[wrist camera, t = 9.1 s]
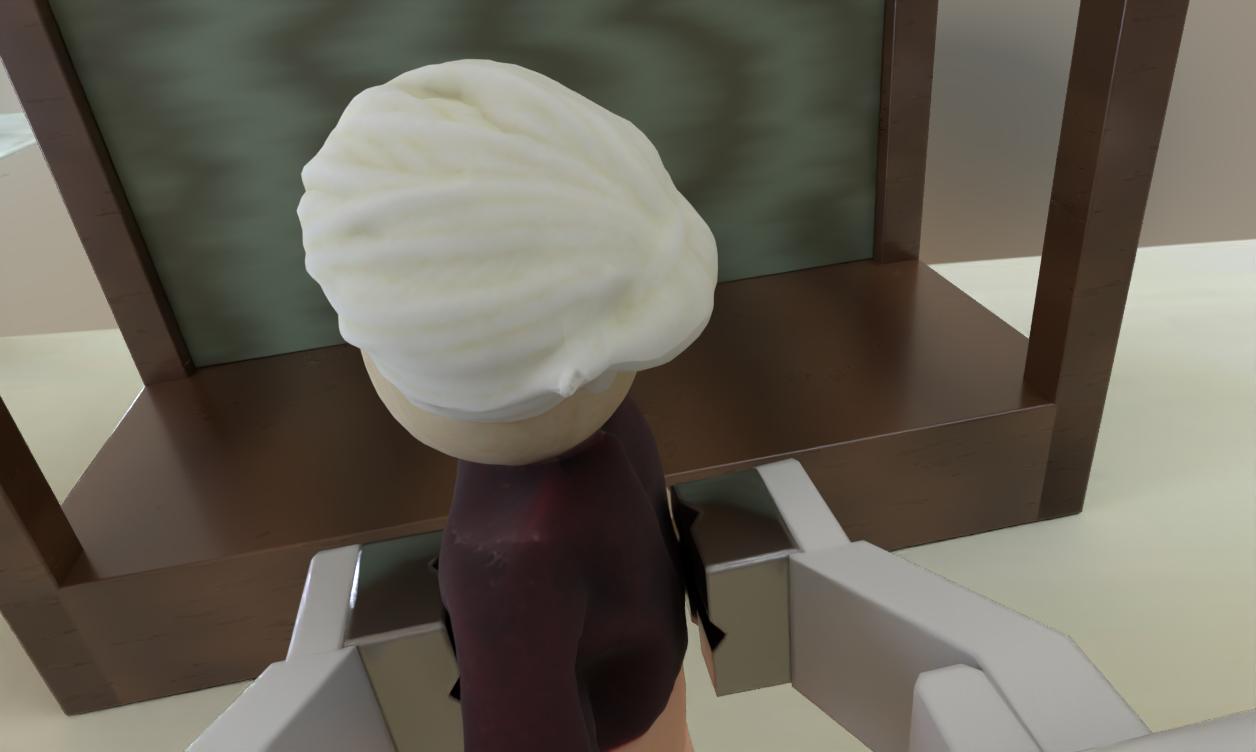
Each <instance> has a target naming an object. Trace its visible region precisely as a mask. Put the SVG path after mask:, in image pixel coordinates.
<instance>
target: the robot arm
mask: <svg viewBox="0 0 1256 752" xmlns="http://www.w3.org/2000/svg"><path fill="white" fill-rule="evenodd" d="M670 501H671V512H672V516H673V519H674V522H675V525H676V528H677V531H678V533H679V538H678V539H677V540H678V544H679V549H680V555H681V561H682V567H683V571H684V581H685V588H686V593H685V601H686V605H687V608H688V611H689V614H690V618H691V621H692V622H693V623H695V624H696V625H698V626H699V633H700V642H701V651H702V654H703V657H704V660H705V663H706V666H707V669H708V672H709V675H710V678H711V680H712V683H713V686H714V689H715V692H716V695H717V697H720V696H725V695H730V694H735V693H740V692H745V691H750V690H756V689H761V688H766V687H771V686H776V685H781V684H787V683H792V687H794V688H795V689H796V690H797V691H799V692H800V693H801V694H802V695H804V696H805V697H806V698H807V699H809V700H810V701H811V702H812V703H814V704H815V705H816V706H817V707H819V708H820V709H821V710H822V711H824V712H825V713H826V714H827V715H829V716H830V717H831V718H832V719H833V720H835V721H836V722H837V723H838V724H840V725H841V726H842V727H843V728H845V729H846V730H847V731H848V732H850V733H851V734H852V735H853V736H855V737H856V738H857V739H858V740H860V741H861V742H862V743H863V744H865V745H866V746H867V747H868V748H870V749H871V750H872V751H873V752H1256V709H1252V710H1248V711H1244V712H1240V713H1235V714H1231V715H1227V716H1223V717H1219V718H1214V719H1210V720H1206V721H1202V722H1198V723H1194V724H1189V725H1185V726H1181V727H1177V728H1173V729H1168V730H1164V731H1160V732H1156V733H1152V732H1151V730H1150V729H1149V728H1148V727H1147V726H1146V725H1145V723H1144V722H1143V721H1142V720H1141V719H1140V718H1139V716H1138V715H1137V714H1136V713H1135V712H1134V711H1133V709H1132V708H1131V707H1130V706H1129V705H1128V704H1127V702H1126V701H1125V700H1124V699H1123V698H1122V697H1121V695H1120V694H1119V693H1118V692H1117V691H1116V690H1115V689H1114V687H1113V686H1112V685H1111V684H1110V683H1109V682H1108V680H1107V679H1106V678H1105V677H1104V676H1103V675H1102V673H1101V672H1100V671H1099V670H1098V669H1097V668H1096V666H1095V665H1094V664H1093V663H1092V662H1091V661H1090V659H1089V658H1088V657H1087V656H1086V655H1085V654H1084V652H1083V651H1082V650H1081V649H1080V648H1079V647H1078V645H1077V644H1076V643H1075V642H1074V641H1073V640H1072V639H1071V637H1070V636H1068V635H1065V634H1063V633H1061V632H1059V631H1057V630H1055V629H1053V628H1050V627H1048V626H1046V625H1044V624H1042V623H1040V622H1038V621H1035V620H1033V619H1031V618H1029V617H1027V616H1025V615H1023V614H1020V613H1018V612H1016V611H1014V610H1012V609H1010V608H1008V607H1005V606H1003V605H1001V604H999V603H997V602H995V601H993V600H991V599H988V598H986V597H984V596H982V595H980V594H978V593H976V592H973V591H971V590H969V589H967V588H965V587H963V586H961V585H958V584H956V583H954V582H952V581H950V580H948V579H946V578H943V577H941V576H939V575H937V574H935V573H933V572H931V571H928V570H926V569H924V568H922V567H920V566H918V565H916V564H913V563H911V562H909V561H907V560H905V559H903V558H901V557H898V556H896V555H894V554H892V553H890V552H888V551H886V550H884V549H881V548H879V547H877V546H875V545H873V544H871V543H869V542H866V541H864V540H862V541H857V542H852V543H851V541H850V540H849V538H848V537H847V535H846V534H845V532H844V530H843V529H842V527H841V526H840V524H839V523H838V521H837V520H836V518H835V517H834V515H833V513H832V512H831V510H830V509H829V507H828V506H827V504H826V503H825V501H824V499H823V498H822V496H821V495H820V493H819V492H818V490H817V489H816V487H815V486H814V484H813V482H812V481H811V479H810V478H809V476H808V475H807V473H806V472H805V470H804V469H803V467H802V465H801V464H800V462H799V461H797V460H795V459H793V458H791V459H786V460H782V461H778V462H773V463H769V464H764V465H760V466H756V467H752V469H749V470H744V471H739V472H734V473H729V474H724V475H719V476H714V477H709V478H704V479H699V480H694V481H689V482H684V483H679V484H674V485H670ZM443 533H444V529H440V530H435V531H429V532H423V533H417V534H412V535H406V536H400V537H394V538H389V539H383V540H377V541H372V542H366V543H363V545H362V544H356V545H351V546H345V547H340V548H335V549H330V550H324V551H319V552H318V553H317V554H316V555H315V556H314V557H313V558H312V560H311V562H310V566H309V570H308V574H307V578H306V582H305V586H304V590H303V594H302V598H301V602H300V606H299V610H298V613H297V617H296V621H295V625H294V629H293V633H292V637H291V641H290V645H289V649H288V653H287V657H286V660H284V661H280V662H275V663H272V664H271V665H270V666H269V667H268V668H267V669H266V670H265V671H264V672H263V673H262V674H261V675H260V676H259V677H258V678H257V679H256V680H255V681H254V682H253V683H252V684H251V685H250V686H249V687H248V688H247V689H246V690H245V691H244V692H243V693H242V694H241V695H240V696H239V697H238V698H237V699H236V700H235V701H234V702H233V703H232V704H231V705H230V706H229V707H228V708H227V709H226V710H225V711H224V712H223V713H222V714H221V715H220V716H219V717H218V718H217V719H216V720H215V721H214V722H213V723H212V724H211V725H210V726H209V727H208V728H207V729H206V730H205V731H204V732H203V733H202V734H201V735H200V736H199V737H198V738H197V739H196V740H195V741H194V742H193V743H192V744H191V745H190V746H189V747H188V748H187V749H186V750H185V751H184V752H464V736H463V720H462V713H461V688H460V671H459V668H458V664H457V656H456V644H455V639H454V634H453V629H452V624H451V622H450V619H449V616H448V612H447V610H446V608H445V606H444V604H443V602H442V598H441V592H440V587H439V579H438V569H439V555H440V550H441V545H442V539H443Z"/></svg>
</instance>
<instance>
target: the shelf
mask: <svg viewBox="0 0 1256 752" xmlns="http://www.w3.org/2000/svg"><path fill="white" fill-rule="evenodd" d="M1188 5H1189V0H1081V1H1080V8H1079V16H1078V21H1077V28H1076V35H1075V41H1074V47H1073V55H1072V61H1071V67H1070V74H1069V80H1068V87H1067V94H1066V101H1065V107H1064V113H1063V120H1062V127H1061V134H1060V140H1059V146H1058V153H1057V159H1056V166H1055V173H1054V179H1053V186H1052V192H1051V199H1050V205H1049V212H1048V218H1047V225H1046V232H1045V239H1044V245H1043V251H1042V258H1041V265H1040V271H1039V278H1038V284H1037V291H1036V297H1035V304H1034V311H1033V317H1032V324H1031V330H1030V337H1029V339H1028V338H1027V337H1025V336H1024V335H1023V334H1021V333H1020V332H1018V331H1017V330H1016V329H1014V328H1013V327H1012V326H1010V325H1009V324H1007V323H1006V322H1005V321H1003V320H1002V319H1000V318H999V317H998V316H996V315H995V314H994V313H992V312H991V311H989V310H988V309H987V308H985V307H984V306H982V305H981V304H980V303H978V302H977V301H976V300H974V299H973V298H971V297H970V296H969V295H967V294H966V293H964V292H963V291H962V290H960V289H959V288H958V287H956V286H955V285H953V284H952V283H951V282H949V281H948V280H946V279H945V278H944V277H942V276H941V275H940V274H938V273H937V272H935V271H934V270H933V269H931V268H930V267H928V266H927V265H926V264H924V263H923V262H922V261H920V260H919V250H920V236H921V223H922V209H923V197H924V184H925V171H926V157H927V143H928V131H929V117H930V104H931V90H932V78H933V65H934V52H935V38H936V24H937V11H938V0H0V59H1V61H2V63H3V66H4V68H5V70H6V72H7V74H8V77H9V79H10V81H11V84H12V86H13V88H14V90H15V93H16V95H17V97H18V100H19V102H20V104H21V106H22V109H23V111H24V113H25V116H26V118H27V120H28V122H29V125H30V127H31V129H32V131H33V134H34V136H35V138H36V140H37V143H38V145H39V147H40V150H41V152H42V154H43V156H44V159H45V161H46V163H47V165H48V168H49V170H50V172H51V174H52V176H53V179H54V181H55V183H56V186H57V188H58V190H59V192H60V195H61V197H62V199H63V202H64V204H65V206H66V208H67V211H68V213H69V215H70V217H71V220H72V222H73V224H74V227H75V229H76V231H77V233H78V236H79V238H80V240H81V242H82V245H83V247H84V249H85V251H86V254H87V256H88V258H89V260H90V262H91V265H92V267H93V270H94V271H95V274H96V276H97V279H98V281H99V283H100V285H101V288H102V290H103V292H104V294H105V297H106V299H107V301H108V303H109V306H110V308H111V310H112V313H113V315H114V317H115V319H116V322H117V324H118V326H119V328H120V331H121V333H122V335H123V337H124V340H125V342H126V344H127V347H128V349H129V351H130V353H131V356H132V358H133V360H134V362H135V365H136V367H137V369H138V371H139V374H140V376H141V378H142V381H143V383H144V385H145V387H144V388H143V390H142V391H141V392H140V394H139V395H138V397H137V398H136V400H135V401H134V402H133V404H132V405H131V407H130V408H129V409H128V411H127V412H126V414H125V415H124V417H123V418H122V419H121V421H120V422H119V424H118V425H117V427H116V428H115V429H114V431H113V432H112V434H111V435H110V437H109V438H108V439H107V441H106V442H105V444H104V445H103V447H102V448H101V449H100V451H99V452H98V454H97V455H96V457H95V458H94V459H93V461H92V462H91V464H90V465H89V467H88V468H87V469H86V471H85V472H84V474H83V475H82V477H81V478H80V479H79V481H78V482H77V484H76V485H75V487H74V488H73V489H72V491H71V492H70V494H69V495H68V497H67V498H66V499H65V501H64V502H63V504H62V505H61V506H60V504H59V503H58V501H57V499H56V497H55V495H54V493H53V491H52V490H51V488H50V486H49V484H48V482H47V480H46V479H45V477H44V475H43V473H42V471H41V469H40V468H39V466H38V464H37V462H36V460H35V458H34V456H33V455H32V453H31V451H30V449H29V447H28V445H27V444H26V442H25V440H24V438H23V436H22V434H21V432H20V431H19V429H18V427H17V425H16V423H15V421H14V420H13V418H12V416H11V414H10V412H9V410H8V409H7V407H6V405H5V403H4V401H3V399H2V397H1V396H0V612H1V614H2V615H3V617H4V619H5V620H6V622H7V623H8V625H9V626H10V628H11V630H12V631H13V633H14V634H15V636H16V637H17V639H18V641H19V642H20V644H21V645H22V647H23V648H24V650H25V652H26V653H27V655H28V656H29V658H30V659H31V661H32V663H33V664H34V666H35V667H36V669H37V670H38V672H39V674H40V675H41V677H42V678H43V680H44V681H45V683H46V685H47V686H48V688H49V689H50V691H51V692H52V694H53V696H54V697H55V699H56V700H57V702H58V703H59V705H60V707H61V708H62V710H63V711H64V713H65V714H66V715H73V714H78V713H83V712H88V711H93V710H98V709H103V708H108V707H113V706H118V705H123V704H128V703H133V702H138V701H143V700H148V699H153V698H158V697H163V696H167V695H172V694H177V693H182V692H187V691H192V690H197V689H202V688H207V687H212V686H217V685H222V684H227V683H232V682H237V681H242V680H247V679H252V678H257V677H259V676H260V675H261V674H262V673H263V672H264V671H265V670H266V669H267V668H268V667H269V666H270V665H271V664H272V663H275V662H280V661H284V660H286V657H287V653H288V649H289V645H290V641H291V637H292V633H293V629H294V625H295V621H296V617H297V613H298V610H299V606H300V602H301V598H302V594H303V590H304V586H305V582H306V578H307V574H308V570H309V566H310V562H311V560H312V558H313V557H314V556H315V555H316V554H317V553H318V552H319V551H324V550H330V549H335V548H340V547H345V546H351V545H356V544H362V545H363V543H366V542H372V541H377V540H383V539H389V538H394V537H400V536H406V535H412V534H417V533H423V532H429V531H435V530H440V529H445V527H446V524H447V522H448V519H449V513H450V509H451V506H452V502H453V496H454V489H455V484H456V478H457V467H458V461H459V458H456V457H453V456H450V455H447V454H445V453H443V452H441V451H438V450H436V449H434V448H432V447H430V446H428V445H426V444H424V443H422V442H421V441H419V440H418V439H416V438H415V437H414V436H413V435H412V434H411V433H410V432H409V431H408V430H407V429H405V428H404V427H403V426H402V425H401V424H400V423H399V422H398V421H397V420H396V419H395V418H394V417H393V415H392V414H391V413H390V411H389V410H388V408H387V407H386V405H385V404H384V403H383V401H382V400H381V398H380V397H379V395H378V393H377V391H376V389H375V387H374V385H373V383H372V381H371V379H370V376H369V374H368V371H367V369H366V366H365V363H364V360H363V357H362V353H361V350H360V348H358V347H356V346H354V345H352V344H350V343H348V342H347V341H345V340H344V338H343V337H342V335H341V333H340V329H339V320H338V313H337V312H336V311H335V309H334V308H333V307H332V305H331V303H330V302H329V300H328V299H327V297H326V295H325V294H324V292H323V289H322V287H321V285H320V284H319V283H318V282H317V281H316V280H315V279H313V278H312V277H311V276H310V274H309V273H308V272H307V270H306V266H305V256H306V252H305V249H304V246H303V231H302V227H301V223H300V220H299V217H298V214H297V208H298V206H299V203H300V200H301V198H302V196H303V195H304V194H305V192H306V190H305V187H304V184H303V181H302V176H301V173H302V171H303V168H304V166H305V165H306V164H307V163H308V162H309V161H310V160H312V159H313V158H314V157H315V156H316V155H317V153H318V152H319V151H320V149H321V148H322V147H323V146H324V144H325V141H326V140H327V138H328V136H329V135H330V133H331V132H332V130H333V129H334V128H336V126H337V124H338V122H339V120H340V118H341V116H342V114H343V112H344V111H345V109H346V108H347V106H348V105H349V104H350V102H351V101H352V100H353V98H354V97H356V96H357V95H358V94H360V93H361V92H363V91H364V90H366V89H368V88H371V87H375V86H380V85H384V84H385V83H387V82H389V81H391V80H393V79H394V78H396V77H398V76H400V75H401V74H403V73H405V72H408V71H411V70H415V69H418V68H421V67H424V66H427V65H434V64H442V63H445V62H450V61H457V60H463V59H482V60H492V61H495V62H500V63H508V64H515V65H518V66H521V67H524V68H526V69H529V70H532V71H535V72H537V73H540V74H542V75H544V76H546V77H548V78H550V79H552V80H554V81H556V82H558V83H560V84H562V85H563V86H565V87H567V88H569V89H570V90H572V91H574V92H576V93H578V94H580V95H582V96H584V97H585V98H587V99H589V100H591V101H592V102H594V103H596V104H598V105H599V106H601V107H603V108H605V109H606V110H608V111H610V112H612V113H613V114H615V115H617V116H620V117H622V118H624V119H626V120H628V121H630V122H631V123H632V124H633V125H635V126H636V127H637V128H638V129H639V130H640V131H641V132H643V133H644V134H645V136H646V137H647V138H648V139H649V140H650V142H651V143H652V144H653V145H654V147H655V148H656V150H657V151H658V154H659V156H660V158H661V161H662V163H663V166H664V168H665V169H666V171H667V172H668V173H669V175H670V177H671V180H672V182H673V184H674V185H675V187H676V189H677V190H678V191H679V192H680V193H681V194H682V195H683V196H684V198H685V199H686V200H687V201H688V202H689V203H690V204H691V205H692V207H693V208H694V209H695V210H696V212H697V213H698V214H699V215H700V216H701V218H702V219H703V220H704V221H705V223H706V224H707V225H708V227H709V229H710V230H711V232H712V234H713V236H714V238H715V241H716V247H717V255H718V275H717V284H716V287H715V290H714V307H713V311H712V314H711V317H710V320H709V322H708V324H707V326H706V327H705V328H704V330H703V331H702V333H701V334H700V336H699V337H698V338H697V339H696V340H695V341H694V342H693V343H692V344H691V345H689V346H688V347H687V348H686V349H685V350H684V351H683V352H681V353H680V354H679V355H678V356H676V357H675V358H674V359H672V360H671V361H670V362H667V363H665V364H663V365H660V366H657V367H653V368H649V369H645V370H641V371H637V373H636V375H635V378H634V380H633V382H632V385H631V387H630V389H629V391H628V392H629V393H630V394H631V395H632V397H633V399H634V400H635V402H636V404H637V405H638V407H639V409H640V410H641V412H642V414H643V415H644V417H645V419H646V421H647V422H648V424H649V426H650V428H651V431H652V433H653V435H654V438H655V441H656V444H657V448H658V452H659V456H660V459H661V464H662V469H663V473H664V477H665V482H666V487H667V489H668V490H669V492H670V485H674V484H679V483H684V482H689V481H694V480H699V479H704V478H709V477H714V476H719V475H724V474H729V473H734V472H739V471H744V470H749V469H752V467H756V466H760V465H764V464H769V463H773V462H778V461H782V460H786V459H791V458H793V459H795V460H797V461H799V462H800V464H801V465H802V467H803V469H804V470H805V472H806V473H807V475H808V476H809V478H810V479H811V481H812V482H813V484H814V486H815V487H816V489H817V490H818V492H819V493H820V495H821V496H822V498H823V499H824V501H825V503H826V504H827V506H828V507H829V509H830V510H831V512H832V513H833V515H834V517H835V518H836V520H837V521H838V523H839V524H840V526H841V527H842V529H843V530H844V532H845V534H846V535H847V537H848V538H849V540H850V541H851V543H852V542H857V541H862V540H864V541H866V542H869V543H871V544H873V545H875V546H877V547H879V548H881V549H884V550H886V551H889V550H894V549H899V548H904V547H909V546H913V545H918V544H923V543H928V542H933V541H938V540H943V539H948V538H953V537H958V536H963V535H968V534H973V533H978V532H983V531H988V530H993V529H998V528H1003V527H1008V526H1013V525H1018V524H1023V523H1028V522H1033V521H1040V520H1045V519H1050V518H1055V517H1060V516H1065V515H1070V514H1075V513H1080V512H1082V509H1083V504H1084V499H1085V495H1086V490H1087V485H1088V480H1089V476H1090V471H1091V466H1092V461H1093V457H1094V452H1095V447H1096V442H1097V438H1098V433H1099V428H1100V423H1101V419H1102V414H1103V409H1104V404H1105V400H1106V395H1107V390H1108V385H1109V381H1110V376H1111V371H1112V366H1113V362H1114V357H1115V352H1116V347H1117V343H1118V338H1119V333H1120V328H1121V324H1122V319H1123V314H1124V309H1125V305H1126V300H1127V295H1128V290H1129V286H1130V281H1131V276H1132V271H1133V267H1134V262H1135V257H1136V252H1137V248H1138V243H1139V238H1140V232H1141V229H1142V224H1143V219H1144V214H1145V210H1146V205H1147V200H1148V195H1149V190H1150V186H1151V181H1152V176H1153V172H1154V166H1155V162H1156V157H1157V153H1158V148H1159V142H1160V138H1161V134H1162V129H1163V124H1164V119H1165V114H1166V110H1167V105H1168V100H1169V95H1170V91H1171V86H1172V81H1173V77H1174V72H1175V67H1176V62H1177V58H1178V53H1179V48H1180V43H1181V38H1182V34H1183V29H1184V24H1185V19H1186V15H1187V10H1188ZM672 523H673V527H674V531H675V533H676V536H677V539H678V538H679V533H678V531H677V528H676V525H675V522H674V519H673V517H672Z"/></svg>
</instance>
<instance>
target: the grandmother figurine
mask: <svg viewBox="0 0 1256 752" xmlns="http://www.w3.org/2000/svg"><path fill="white" fill-rule="evenodd" d="M301 176H302V181H303V184H304V187H305V190H306V192H305V194H304V195H303V196H302V198H301V200H300V203H299V206H298V208H297V214H298V217H299V220H300V223H301V227H302V231H303V246H304V249H305V252H306V256H305V266H306V270H307V272H308V273H309V274H310V276H311V277H312V278H313V279H315V280H316V281H317V282H318V283H319V284H320V285H321V287H322V289H323V292H324V294H325V295H326V297H327V299H328V300H329V302H330V303H331V305H332V307H333V308H334V309H335V311H336V312H337V313H338V320H339V329H340V333H341V335H342V337H343V338H344V340H345V341H347V342H348V343H350V344H352V345H354V346H356V347H358V348H360V350H361V353H362V357H363V360H364V363H365V366H366V369H367V371H368V374H369V376H370V379H371V381H372V383H373V385H374V387H375V389H376V391H377V393H378V395H379V397H380V398H381V400H382V401H383V403H384V404H385V405H386V407H387V408H388V410H389V411H390V413H391V414H392V415H393V417H394V418H395V419H396V420H397V421H398V422H399V423H400V424H401V425H402V426H403V427H404V428H405V429H407V430H408V431H409V432H410V433H411V434H412V435H413V436H414V437H415V438H416V439H418V440H419V441H421V442H422V443H424V444H426V445H428V446H430V447H432V448H434V449H436V450H438V451H441V452H443V453H445V454H447V455H450V456H453V457H456V458H459V461H458V467H457V478H456V484H455V489H454V496H453V502H452V506H451V509H450V513H449V519H448V522H447V524H446V527H445V529H444V533H443V539H442V545H441V550H440V555H439V569H438V579H439V587H440V592H441V598H442V602H443V604H444V606H445V608H446V610H447V612H448V616H449V619H450V622H451V624H452V629H453V634H454V639H455V644H456V656H457V664H458V668H459V671H460V688H461V713H462V720H463V736H464V752H694V750H693V746H692V743H691V740H690V735H689V731H688V727H687V722H686V684H685V677H684V669H683V660H684V656H685V653H686V650H687V646H688V632H687V625H686V617H685V593H686V588H685V581H684V571H683V567H682V561H681V555H680V549H679V544H678V540H677V536H676V533H675V531H674V527H673V523H672V517H673V516H672V512H671V501H670V492H669V490H668V489H667V487H666V482H665V477H664V473H663V469H662V464H661V459H660V456H659V452H658V448H657V444H656V441H655V438H654V435H653V433H652V431H651V428H650V426H649V424H648V422H647V421H646V419H645V417H644V415H643V414H642V412H641V410H640V409H639V407H638V405H637V404H636V402H635V400H634V399H633V397H632V395H631V394H630V393H629V392H628V391H629V389H630V387H631V385H632V382H633V380H634V378H635V375H636V373H637V371H641V370H645V369H649V368H653V367H657V366H660V365H663V364H665V363H667V362H670V361H671V360H672V359H674V358H675V357H676V356H678V355H679V354H680V353H681V352H683V351H684V350H685V349H686V348H687V347H688V346H689V345H691V344H692V343H693V342H694V341H695V340H696V339H697V338H698V337H699V336H700V334H701V333H702V331H703V330H704V328H705V327H706V326H707V324H708V322H709V320H710V317H711V314H712V311H713V307H714V290H715V287H716V284H717V275H718V255H717V247H716V241H715V238H714V236H713V234H712V232H711V230H710V229H709V227H708V225H707V224H706V223H705V221H704V220H703V219H702V218H701V216H700V215H699V214H698V213H697V212H696V210H695V209H694V208H693V207H692V205H691V204H690V203H689V202H688V201H687V200H686V199H685V198H684V196H683V195H682V194H681V193H680V192H679V191H678V190H677V189H676V187H675V185H674V184H673V182H672V180H671V177H670V175H669V173H668V172H667V171H666V169H665V168H664V166H663V163H662V161H661V158H660V156H659V154H658V151H657V150H656V148H655V147H654V145H653V144H652V143H651V142H650V140H649V139H648V138H647V137H646V136H645V134H644V133H643V132H641V131H640V130H639V129H638V128H637V127H636V126H635V125H633V124H632V123H631V122H630V121H628V120H626V119H624V118H622V117H620V116H617V115H615V114H613V113H612V112H610V111H608V110H606V109H605V108H603V107H601V106H599V105H598V104H596V103H594V102H592V101H591V100H589V99H587V98H585V97H584V96H582V95H580V94H578V93H576V92H574V91H572V90H570V89H569V88H567V87H565V86H563V85H562V84H560V83H558V82H556V81H554V80H552V79H550V78H548V77H546V76H544V75H542V74H540V73H537V72H535V71H532V70H529V69H526V68H524V67H521V66H518V65H515V64H508V63H500V62H495V61H492V60H482V59H463V60H457V61H450V62H445V63H442V64H434V65H427V66H424V67H421V68H418V69H415V70H411V71H408V72H405V73H403V74H401V75H400V76H398V77H396V78H394V79H393V80H391V81H389V82H387V83H385V84H384V85H380V86H375V87H371V88H368V89H366V90H364V91H363V92H361V93H360V94H358V95H357V96H356V97H354V98H353V100H352V101H351V102H350V104H349V105H348V106H347V108H346V109H345V111H344V112H343V114H342V116H341V118H340V120H339V122H338V124H337V126H336V128H334V129H333V130H332V132H331V133H330V135H329V136H328V138H327V140H326V141H325V144H324V146H323V147H322V148H321V149H320V151H319V152H318V153H317V155H316V156H315V157H314V158H313V159H312V160H310V161H309V162H308V163H307V164H306V165H305V166H304V168H303V171H302V173H301Z"/></svg>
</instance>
